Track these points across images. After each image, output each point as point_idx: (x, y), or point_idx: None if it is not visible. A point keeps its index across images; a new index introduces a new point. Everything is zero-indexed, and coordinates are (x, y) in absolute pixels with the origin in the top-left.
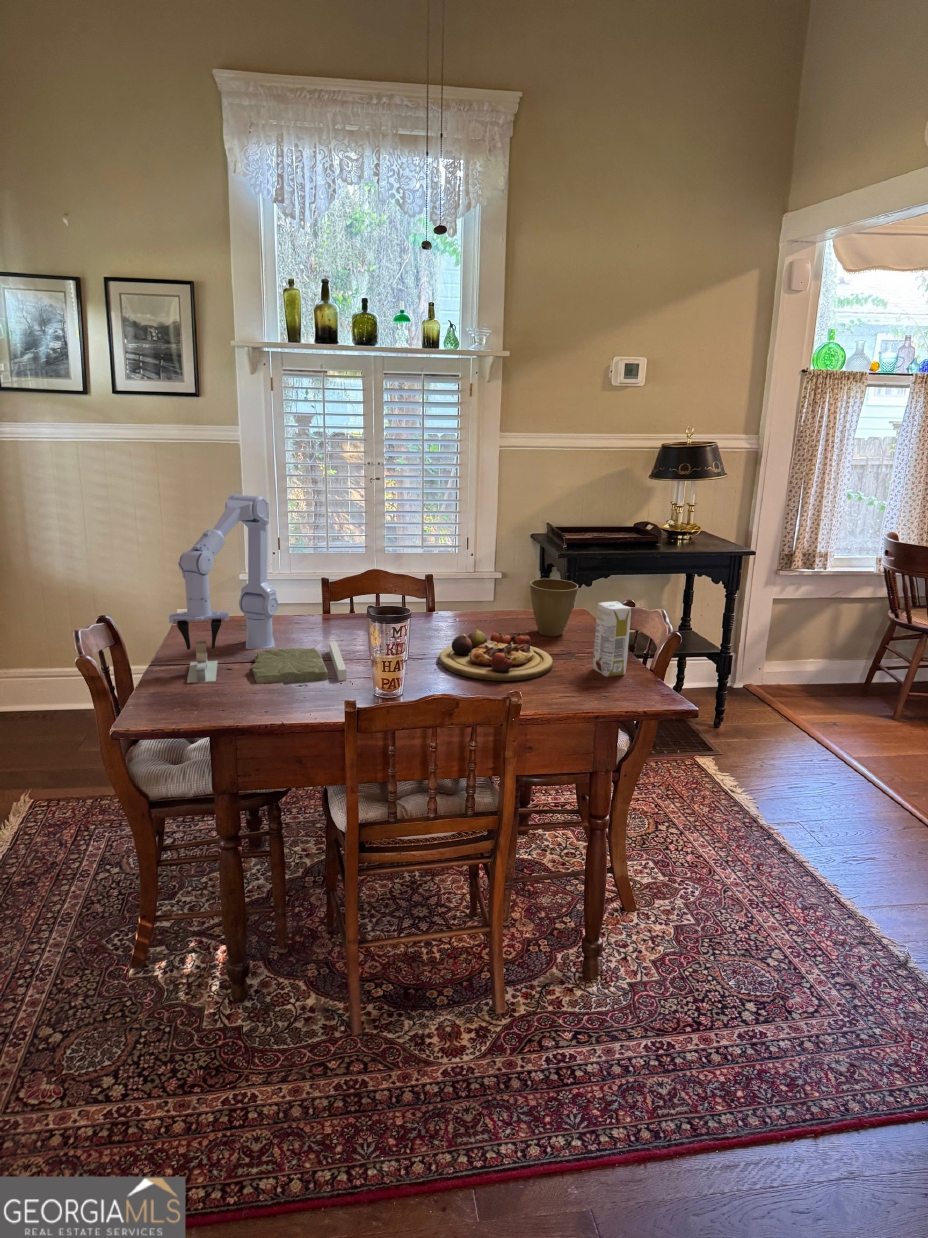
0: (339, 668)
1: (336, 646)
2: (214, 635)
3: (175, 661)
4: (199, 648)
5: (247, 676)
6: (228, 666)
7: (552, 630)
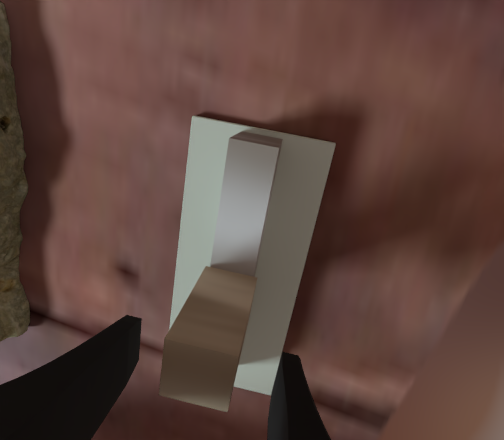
0: None
1: None
2: (53, 373)
3: None
4: (220, 324)
5: (51, 154)
6: (129, 306)
7: None
